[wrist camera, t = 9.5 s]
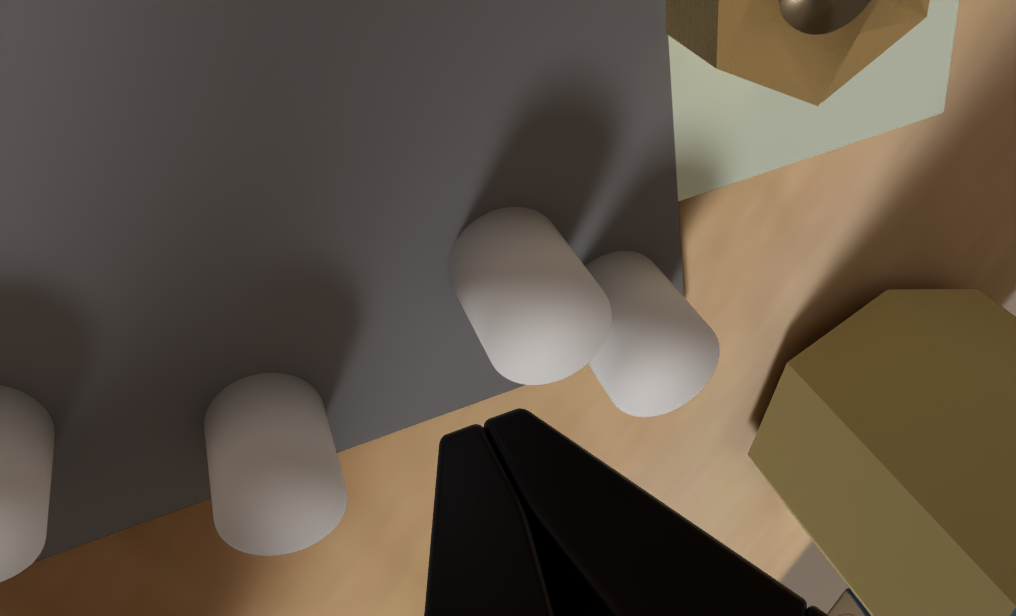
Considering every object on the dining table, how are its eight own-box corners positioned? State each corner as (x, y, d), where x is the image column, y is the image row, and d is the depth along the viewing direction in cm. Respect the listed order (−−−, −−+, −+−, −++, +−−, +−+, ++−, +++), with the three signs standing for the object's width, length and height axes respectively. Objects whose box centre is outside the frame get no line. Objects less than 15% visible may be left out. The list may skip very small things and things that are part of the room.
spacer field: (675, 314, 26) (743, 396, 23) (-37, 568, 22) (-59, 698, 20) (601, -765, 13) (729, -876, 10) (-982, -526, 10) (-1398, -595, 7)
